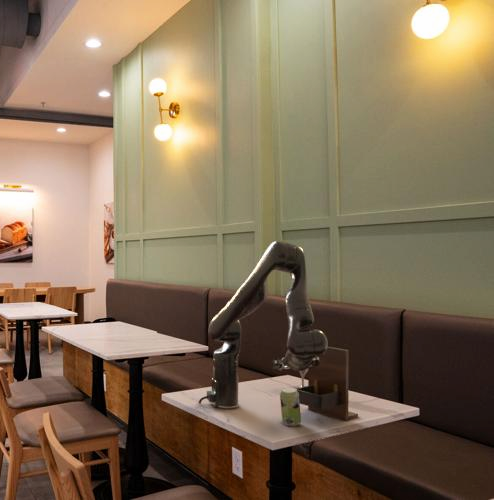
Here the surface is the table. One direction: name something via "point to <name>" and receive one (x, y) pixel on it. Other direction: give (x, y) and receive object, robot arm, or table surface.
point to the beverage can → (290, 406)
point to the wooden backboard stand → (328, 385)
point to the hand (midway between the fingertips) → (293, 366)
